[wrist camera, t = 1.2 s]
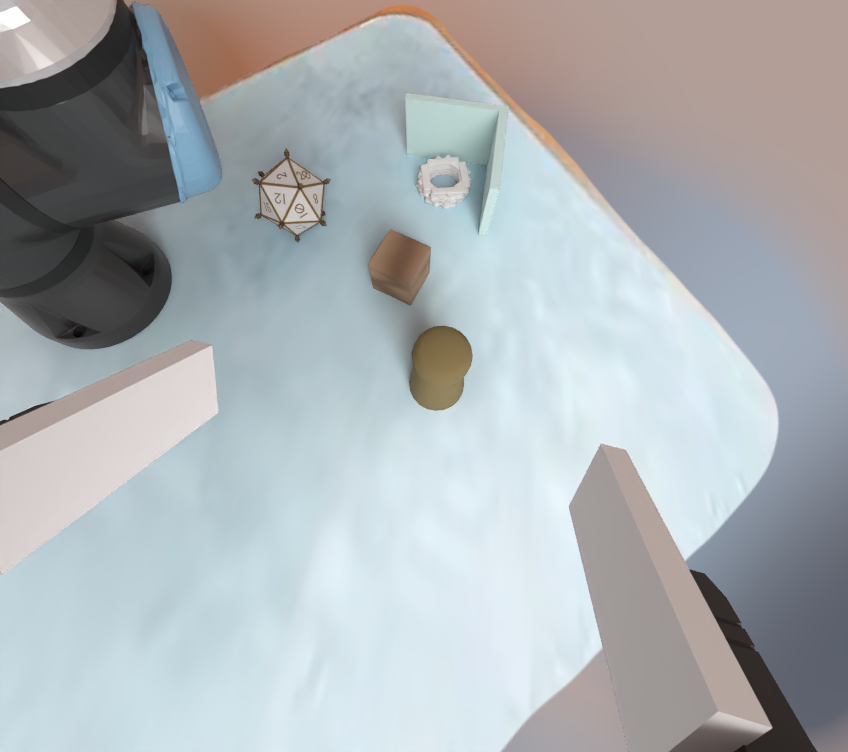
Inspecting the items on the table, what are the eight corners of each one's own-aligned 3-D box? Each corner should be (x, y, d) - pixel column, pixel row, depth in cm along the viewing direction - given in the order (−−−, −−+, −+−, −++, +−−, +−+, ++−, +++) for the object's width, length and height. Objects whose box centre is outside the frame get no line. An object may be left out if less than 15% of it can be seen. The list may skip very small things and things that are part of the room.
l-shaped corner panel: (408, 149, 49) (406, 93, 42) (495, 161, 49) (508, 106, 42) (393, 222, 46) (388, 174, 39) (486, 235, 45) (499, 189, 38)
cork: (444, 348, 41) (453, 302, 30) (474, 391, 40) (495, 359, 29) (399, 375, 40) (392, 338, 30) (428, 421, 39) (432, 398, 28)
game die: (308, 229, 50) (299, 143, 44) (348, 245, 45) (344, 153, 40) (245, 240, 44) (225, 142, 38) (284, 259, 40) (269, 153, 34)
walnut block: (373, 288, 43) (368, 264, 38) (393, 256, 44) (390, 229, 40) (410, 305, 43) (409, 283, 38) (429, 272, 44) (430, 247, 39)
